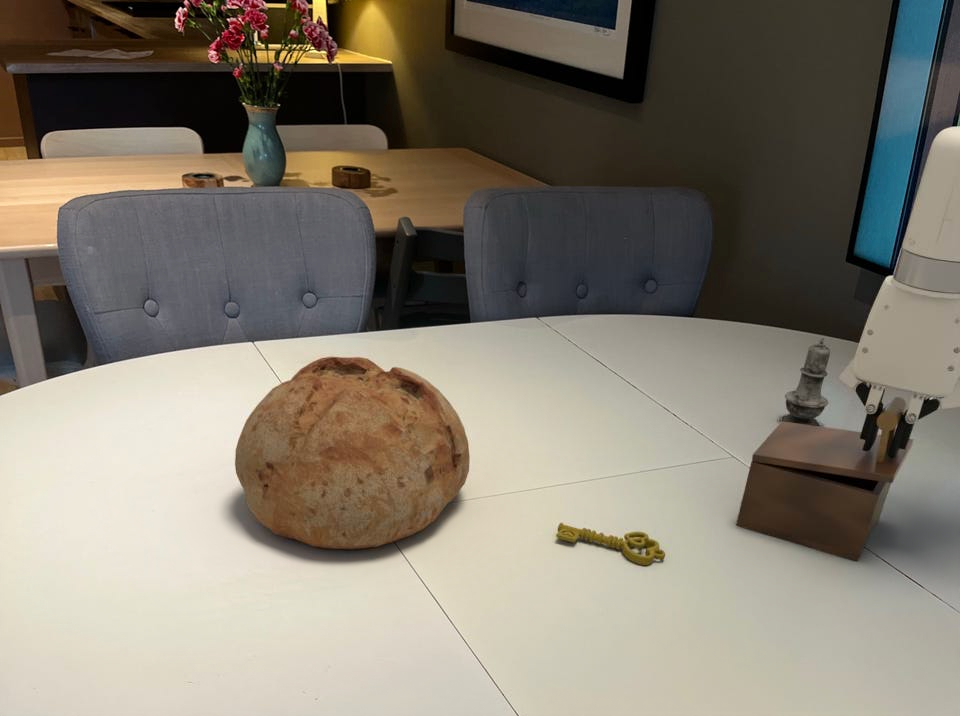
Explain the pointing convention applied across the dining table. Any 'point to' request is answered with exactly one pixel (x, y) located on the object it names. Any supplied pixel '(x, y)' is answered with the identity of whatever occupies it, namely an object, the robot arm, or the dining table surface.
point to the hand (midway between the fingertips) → (881, 448)
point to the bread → (351, 455)
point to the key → (617, 542)
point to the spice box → (812, 507)
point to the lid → (837, 448)
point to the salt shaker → (809, 388)
